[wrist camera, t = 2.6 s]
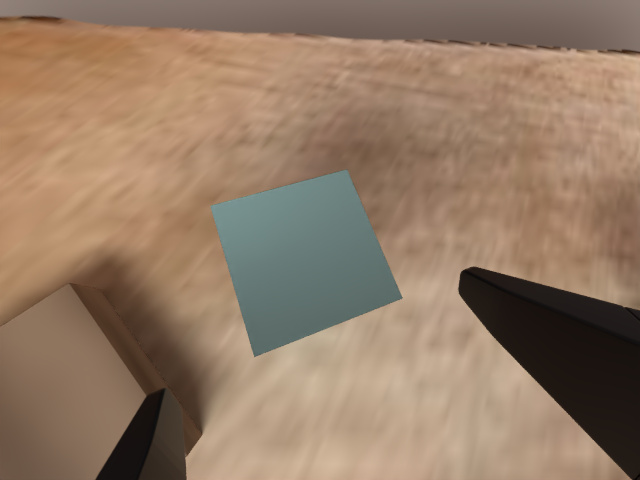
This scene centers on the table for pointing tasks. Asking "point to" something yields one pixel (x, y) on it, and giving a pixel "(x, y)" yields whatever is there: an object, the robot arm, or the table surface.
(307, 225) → the teal block
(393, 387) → the table surface
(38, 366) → the walnut block
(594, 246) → the table surface
